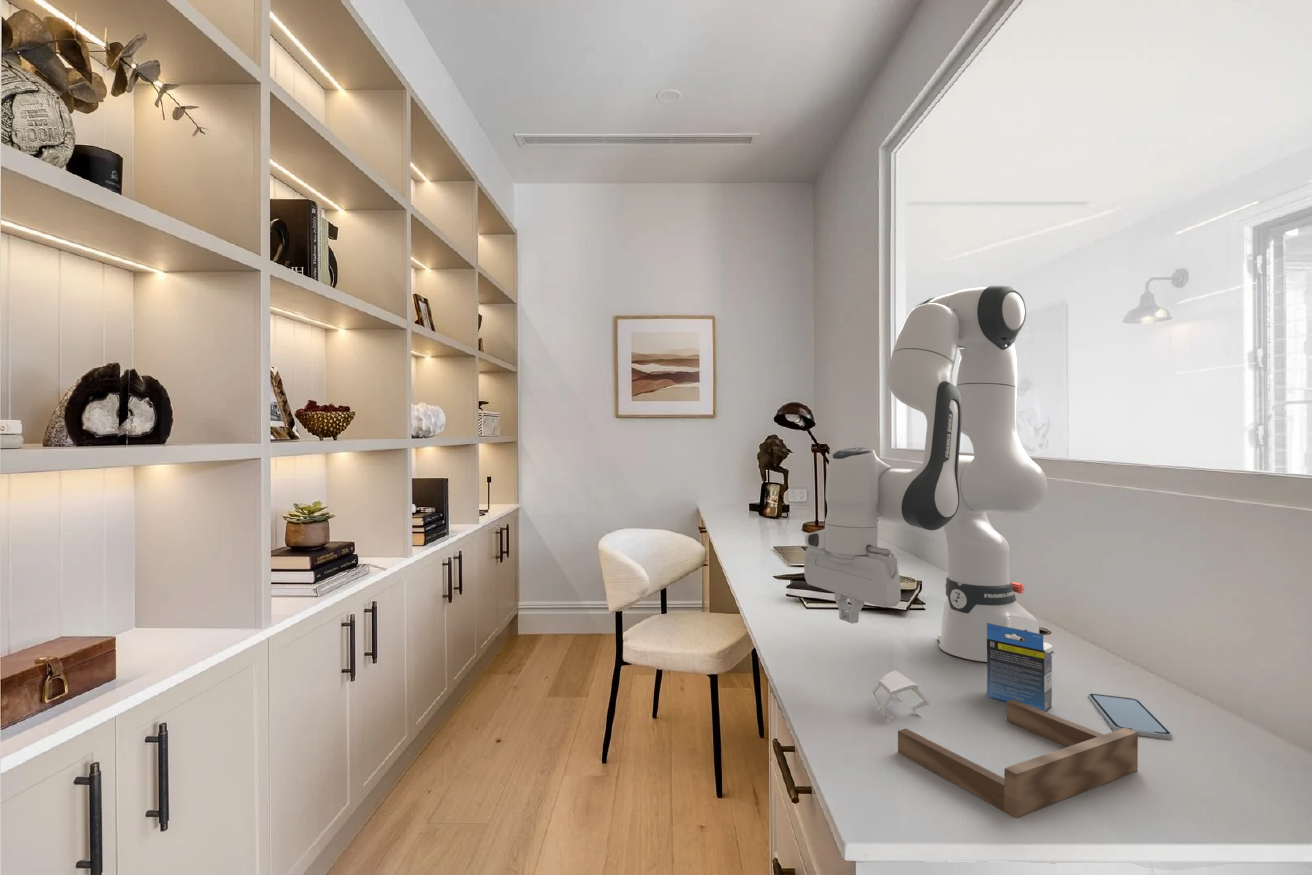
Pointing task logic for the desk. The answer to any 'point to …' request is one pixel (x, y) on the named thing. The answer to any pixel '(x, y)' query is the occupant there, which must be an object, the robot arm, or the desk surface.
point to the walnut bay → (1034, 762)
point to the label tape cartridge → (1018, 667)
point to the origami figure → (898, 690)
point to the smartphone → (1129, 715)
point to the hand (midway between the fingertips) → (848, 621)
